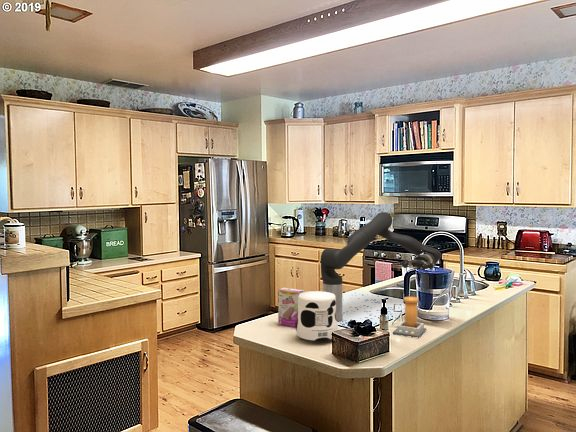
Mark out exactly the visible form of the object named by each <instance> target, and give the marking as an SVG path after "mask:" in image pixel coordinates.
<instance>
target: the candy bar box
mask: <svg viewBox="0 0 576 432" xmlns="http://www.w3.org/2000/svg"><path fill="white" fill-rule="evenodd" d="M277 291H278V292H277V295H278V303H277V304H278V307H277V308H278V310H277V311H278V313H277V315H278V317H277V318H278V323H277V324H278V325H279V326H285V327H290V328H295V329H296V322H297V318H298V296H299V294H300V293H303V292H305V290H304V289H296V288H290V287H281V288H279V289H278V290H277Z"/></svg>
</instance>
